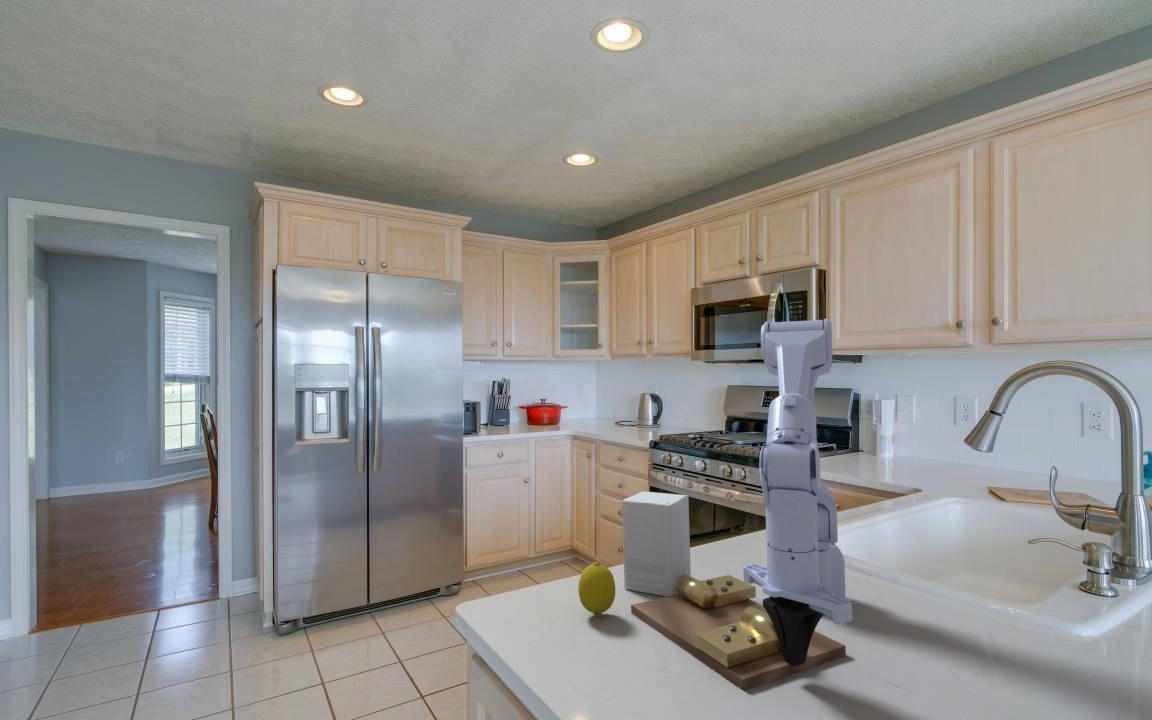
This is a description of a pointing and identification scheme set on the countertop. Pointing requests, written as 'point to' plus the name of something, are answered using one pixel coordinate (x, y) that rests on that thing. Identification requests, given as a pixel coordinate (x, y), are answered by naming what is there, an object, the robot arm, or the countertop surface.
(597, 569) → the lemon
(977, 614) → the countertop surface
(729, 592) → the fixed leaf
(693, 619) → the walnut board
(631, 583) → the supplement box
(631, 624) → the countertop surface
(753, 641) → the plate
